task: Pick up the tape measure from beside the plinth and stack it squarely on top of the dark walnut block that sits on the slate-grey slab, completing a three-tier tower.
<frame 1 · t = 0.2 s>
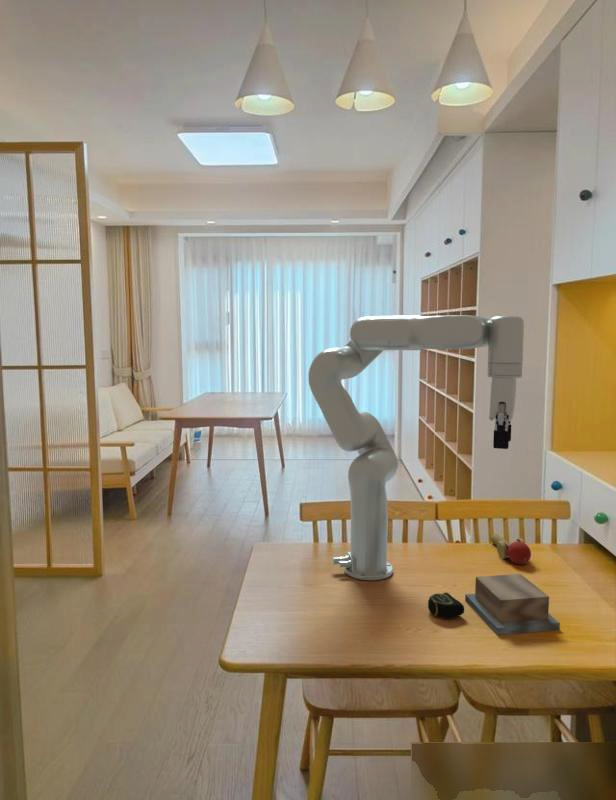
hand: (502, 444, 136), 37 cm above the table, fingers open, 9 cm apart
tape measure: (445, 614, 131), on the table
kendama: (508, 555, 166), on the table
plinth: (509, 614, 131), on the table
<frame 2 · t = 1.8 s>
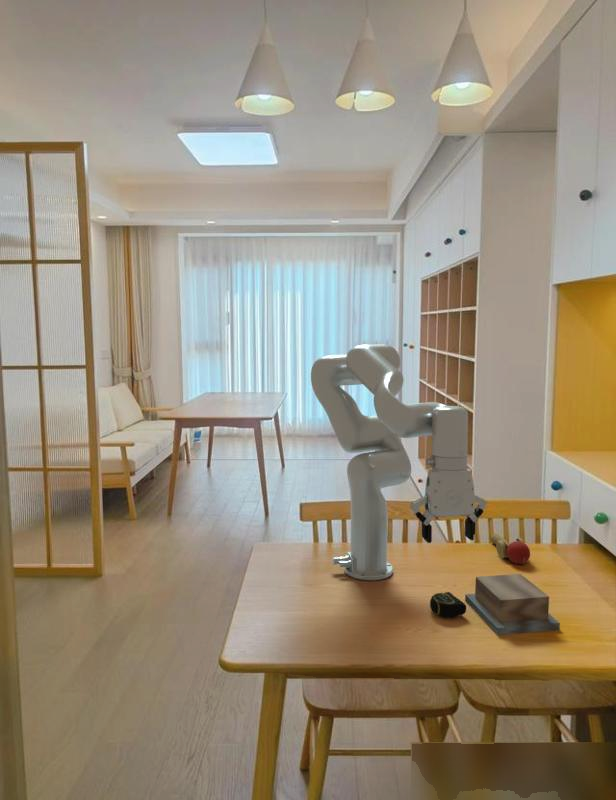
hand: (448, 539, 129), 17 cm above the table, fingers open, 9 cm apart
nothing on the table moved.
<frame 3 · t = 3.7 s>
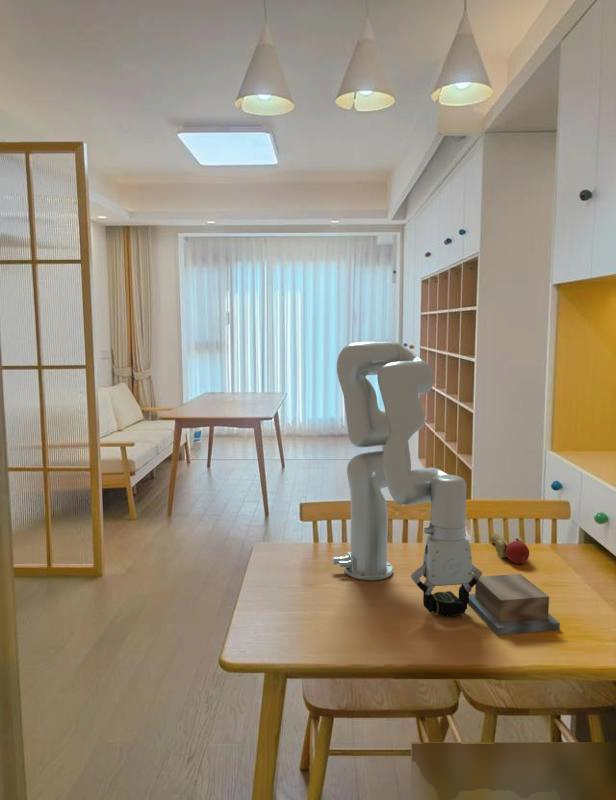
hand: (445, 607, 131), 1 cm above the table, fingers open, 7 cm apart
tape measure: (447, 612, 132), on the table, touching gripper
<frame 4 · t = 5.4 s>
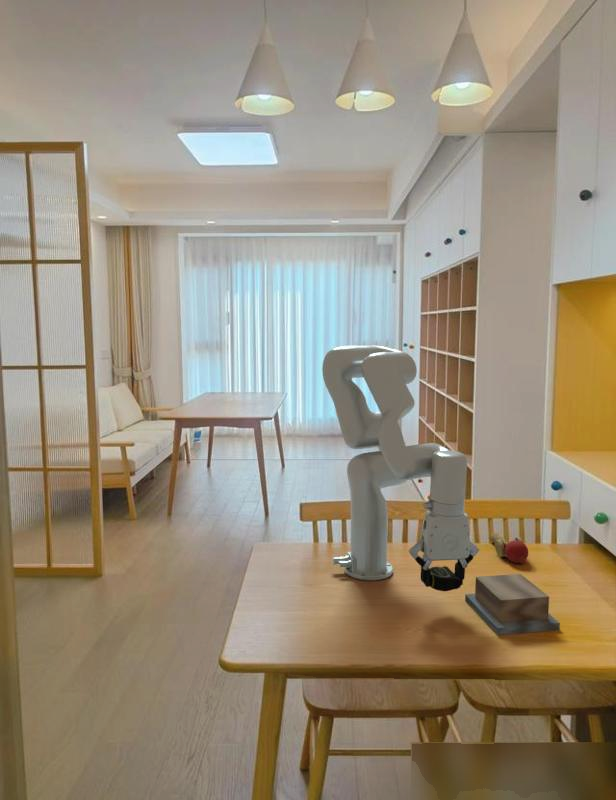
hand: (442, 582, 131), 7 cm above the table, fingers closed on tape measure, 7 cm apart
tape measure: (443, 587, 133), point 5 cm above the table, touching gripper
everything else where it was.
when the fingers open (9 cm above the table, at t = 10.5 s): tape measure drops 1 cm, resting on plinth.
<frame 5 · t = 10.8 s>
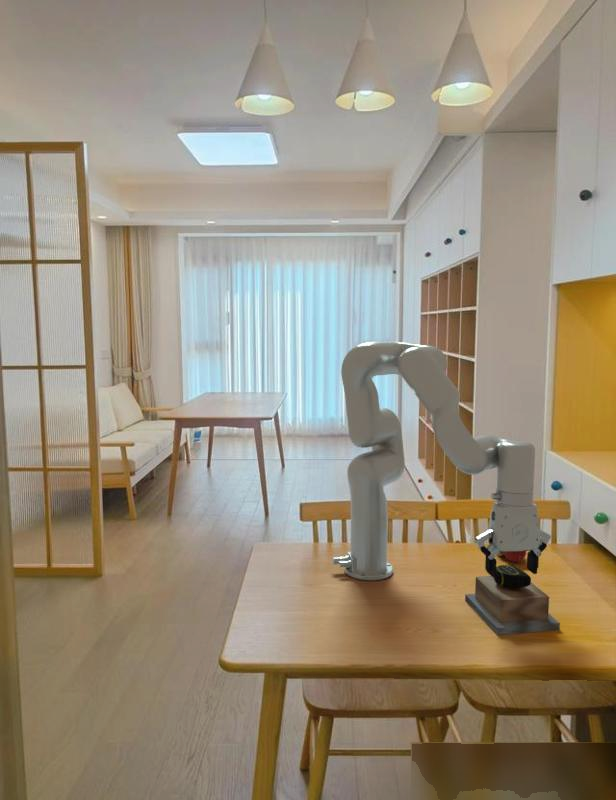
hand: (511, 573, 129), 10 cm above the table, fingers open, 9 cm apart
tape measure: (511, 585, 131), point 6 cm above the table, touching plinth
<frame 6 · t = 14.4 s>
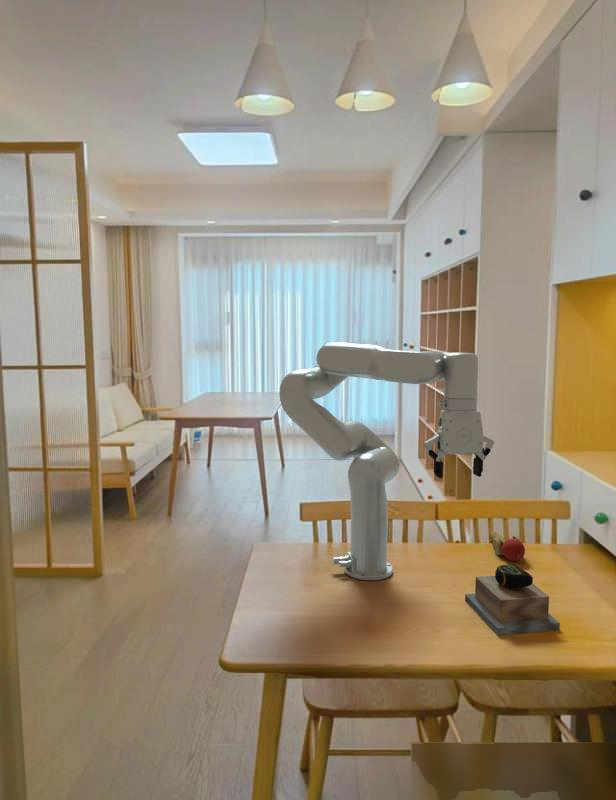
hand: (458, 476, 140), 28 cm above the table, fingers open, 9 cm apart
at the end: tape measure inside the target area on the plinth (1.3 cm from its centre), point 6.3 cm above the plinth's base; tape measure tilted 0°; the gripper is holding nothing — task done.
